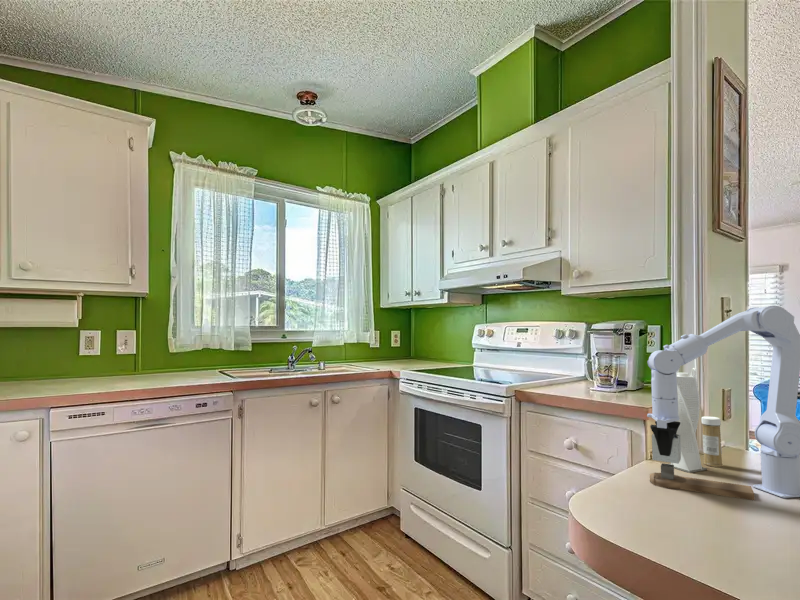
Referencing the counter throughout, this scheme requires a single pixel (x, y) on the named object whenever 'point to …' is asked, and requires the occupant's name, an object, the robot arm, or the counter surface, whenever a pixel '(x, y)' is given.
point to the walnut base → (699, 484)
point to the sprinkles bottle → (712, 441)
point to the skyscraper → (688, 422)
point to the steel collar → (675, 450)
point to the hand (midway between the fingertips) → (666, 452)
